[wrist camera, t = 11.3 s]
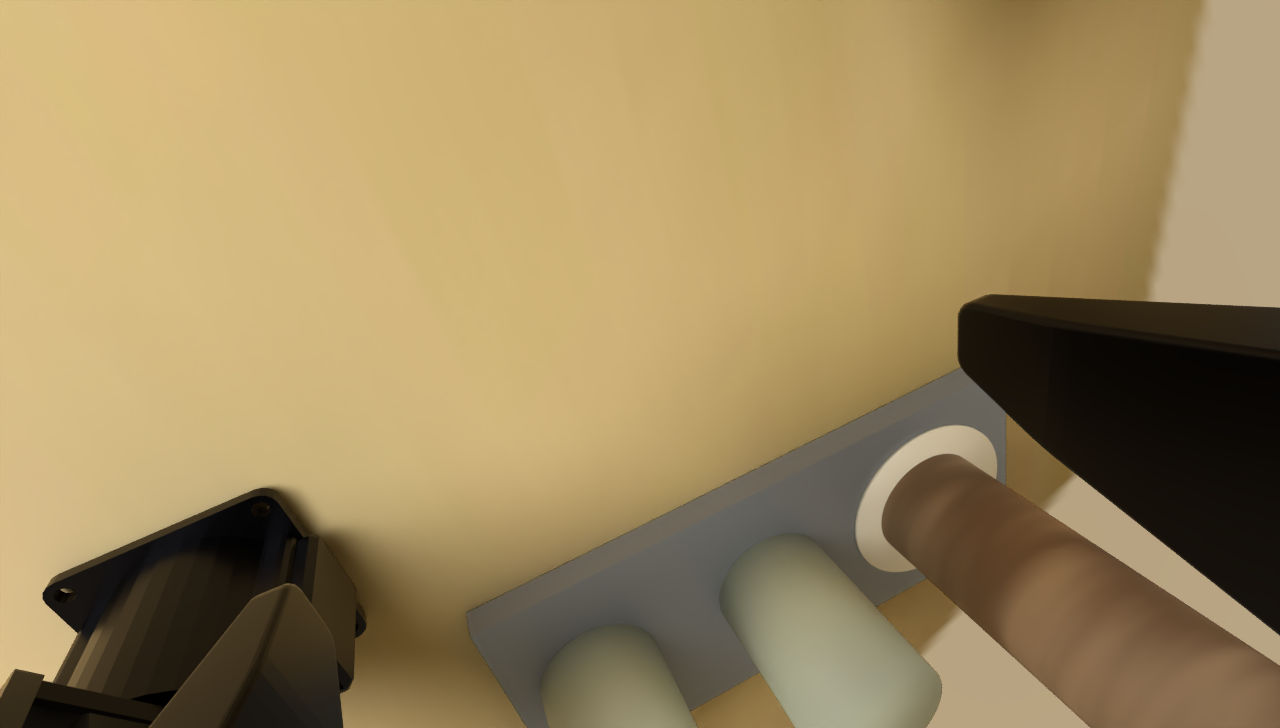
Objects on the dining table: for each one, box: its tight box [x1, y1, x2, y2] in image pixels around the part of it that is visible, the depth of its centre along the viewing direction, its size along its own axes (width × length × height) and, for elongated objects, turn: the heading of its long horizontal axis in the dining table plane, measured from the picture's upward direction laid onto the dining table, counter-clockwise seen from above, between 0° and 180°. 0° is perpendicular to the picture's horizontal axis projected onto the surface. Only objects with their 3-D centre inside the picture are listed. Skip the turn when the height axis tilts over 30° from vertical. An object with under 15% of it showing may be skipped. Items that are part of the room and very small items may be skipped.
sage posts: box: [540, 533, 942, 728], centre depth 24 cm, size 13×5×7 cm, turn 107°
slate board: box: [466, 368, 1006, 728], centre depth 28 cm, size 24×10×1 cm, turn 107°
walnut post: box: [881, 454, 1280, 728], centre depth 24 cm, size 5×5×13 cm
